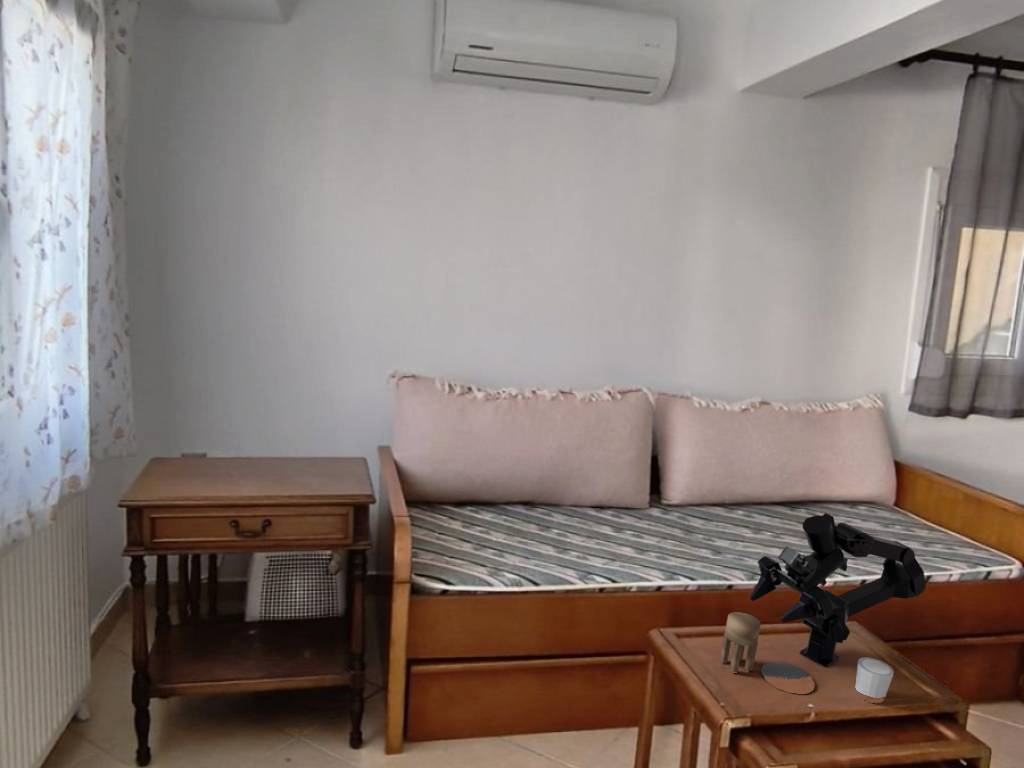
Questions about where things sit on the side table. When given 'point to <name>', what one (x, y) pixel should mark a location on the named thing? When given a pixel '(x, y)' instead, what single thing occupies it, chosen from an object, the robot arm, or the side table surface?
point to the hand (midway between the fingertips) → (765, 609)
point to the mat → (783, 671)
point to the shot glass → (873, 677)
